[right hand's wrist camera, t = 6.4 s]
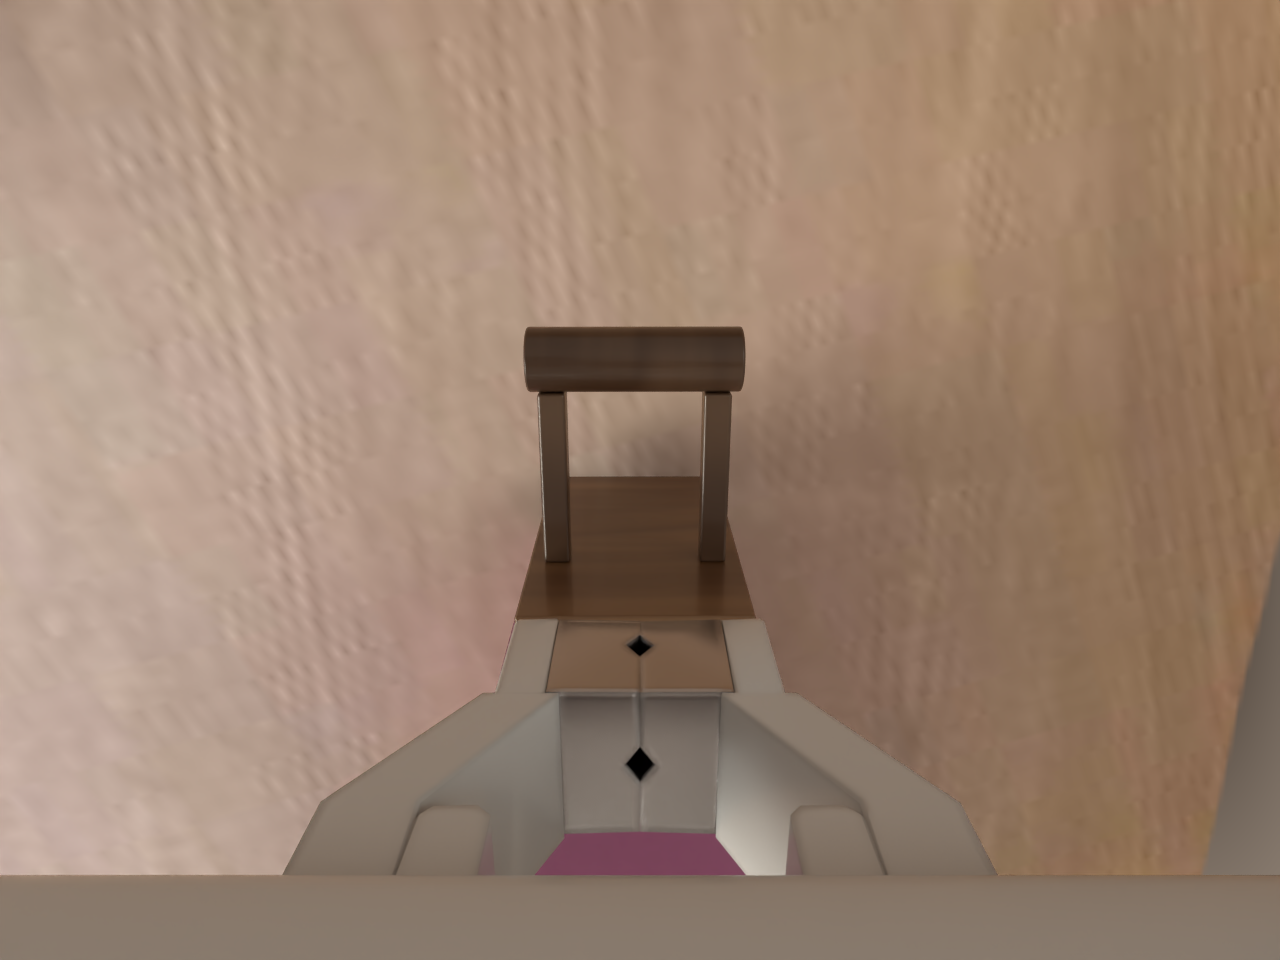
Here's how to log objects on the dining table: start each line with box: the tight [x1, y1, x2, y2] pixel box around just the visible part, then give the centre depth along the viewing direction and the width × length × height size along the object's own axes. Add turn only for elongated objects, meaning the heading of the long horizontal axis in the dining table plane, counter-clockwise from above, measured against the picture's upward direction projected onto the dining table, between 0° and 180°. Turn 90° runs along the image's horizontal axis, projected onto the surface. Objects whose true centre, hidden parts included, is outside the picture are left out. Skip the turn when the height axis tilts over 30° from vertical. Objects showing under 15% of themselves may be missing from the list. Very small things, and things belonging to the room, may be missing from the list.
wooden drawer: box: [515, 327, 756, 623], centre depth 23 cm, size 24×5×8 cm, turn 0°
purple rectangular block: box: [497, 621, 746, 875], centre depth 25 cm, size 20×6×10 cm, turn 0°
